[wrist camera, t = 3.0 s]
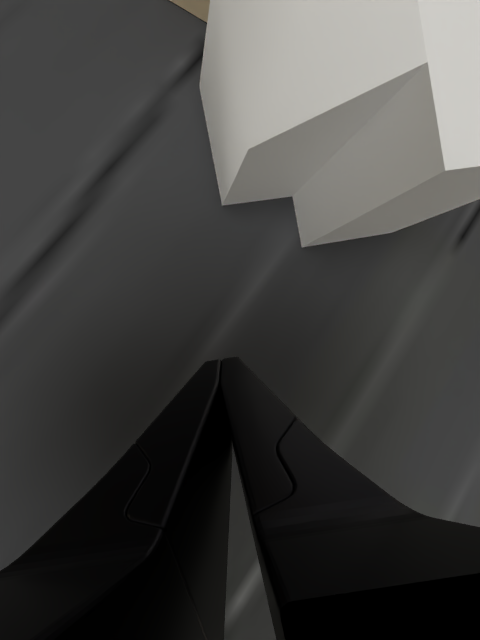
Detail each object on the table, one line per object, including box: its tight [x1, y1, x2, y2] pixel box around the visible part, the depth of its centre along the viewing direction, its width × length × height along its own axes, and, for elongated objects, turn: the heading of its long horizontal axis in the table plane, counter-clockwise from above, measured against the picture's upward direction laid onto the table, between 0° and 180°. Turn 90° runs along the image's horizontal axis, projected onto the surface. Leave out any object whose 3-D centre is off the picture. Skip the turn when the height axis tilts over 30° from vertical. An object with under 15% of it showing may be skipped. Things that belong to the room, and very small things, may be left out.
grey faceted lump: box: [199, 0, 480, 247], centre depth 17 cm, size 11×11×12 cm
